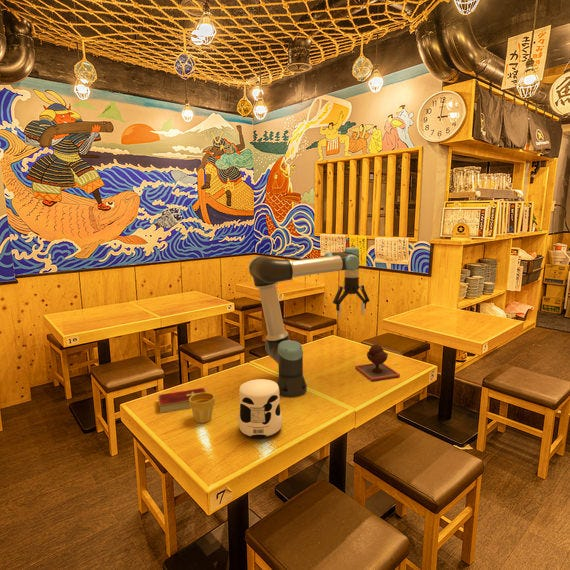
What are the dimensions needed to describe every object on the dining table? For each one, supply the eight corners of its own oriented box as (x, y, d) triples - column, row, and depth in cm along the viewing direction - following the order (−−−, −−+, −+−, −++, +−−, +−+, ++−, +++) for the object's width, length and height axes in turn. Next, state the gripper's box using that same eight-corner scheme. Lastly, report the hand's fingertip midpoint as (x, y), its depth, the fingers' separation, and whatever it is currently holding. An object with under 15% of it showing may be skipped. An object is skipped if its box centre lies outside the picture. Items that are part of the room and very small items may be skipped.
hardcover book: (158, 402, 183) (158, 394, 182) (204, 395, 189) (204, 386, 189) (159, 414, 171) (158, 405, 171) (208, 406, 178) (207, 397, 177)
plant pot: (204, 410, 173) (203, 389, 171) (220, 417, 166) (219, 396, 165) (185, 420, 165) (183, 398, 163) (201, 428, 158) (199, 405, 157)
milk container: (266, 414, 168) (265, 374, 165) (291, 431, 154) (290, 388, 151) (230, 428, 158) (228, 385, 155) (253, 447, 144) (251, 401, 141)
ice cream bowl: (390, 374, 203) (390, 347, 201) (368, 375, 204) (368, 347, 201) (385, 367, 214) (385, 340, 211) (364, 367, 214) (365, 340, 212)
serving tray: (371, 381, 198) (371, 378, 198) (355, 368, 215) (355, 365, 215) (399, 377, 203) (399, 374, 202) (381, 365, 220) (381, 362, 219)
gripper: (332, 278, 203) (331, 319, 207) (376, 276, 209) (375, 315, 213) (326, 276, 210) (326, 315, 214) (370, 274, 216) (369, 312, 220)
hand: (351, 315), depth 213 cm, fingers open, 13 cm apart
